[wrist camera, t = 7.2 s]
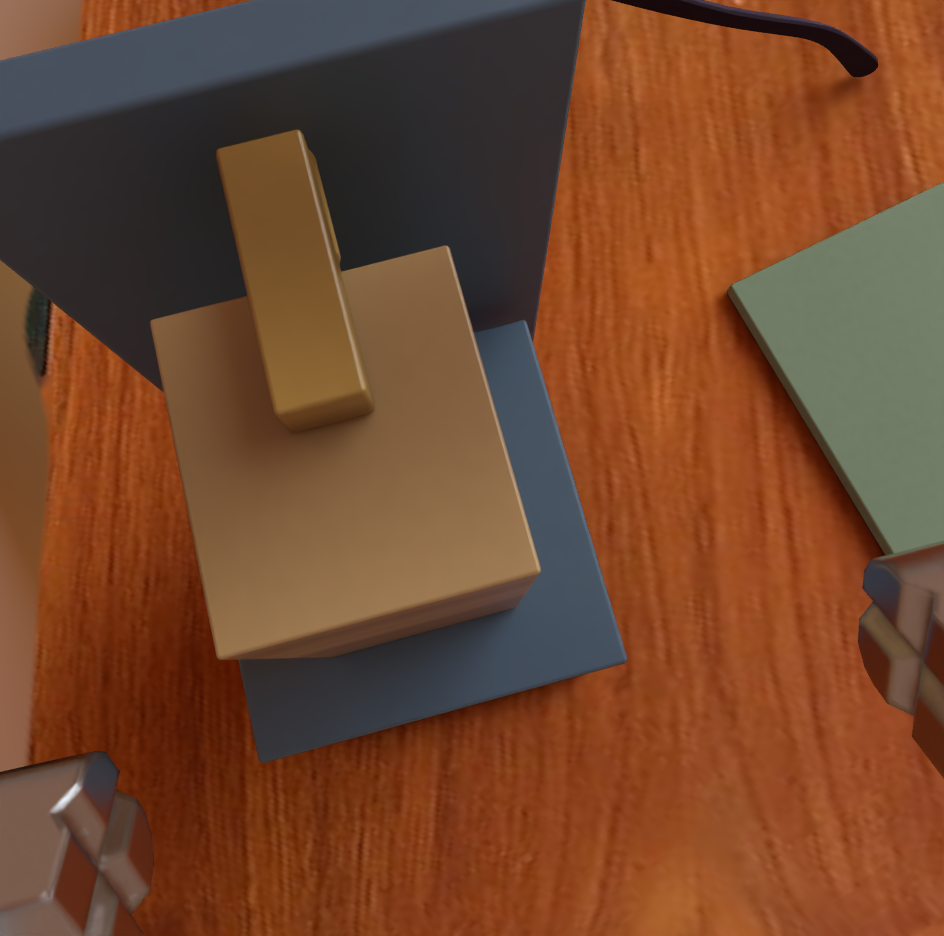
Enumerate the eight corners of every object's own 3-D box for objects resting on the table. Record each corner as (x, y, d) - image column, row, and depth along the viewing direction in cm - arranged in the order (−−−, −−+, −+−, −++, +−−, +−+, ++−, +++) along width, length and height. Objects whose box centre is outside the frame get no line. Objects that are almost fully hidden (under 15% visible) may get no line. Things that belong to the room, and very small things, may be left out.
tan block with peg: (518, 606, 16) (548, 565, 9) (331, 657, 16) (190, 661, 8) (445, 343, 17) (413, 98, 10) (269, 388, 17) (96, 176, 9)
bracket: (587, 670, 28) (836, 709, 8) (343, 737, 27) (-17, 951, 8) (511, 408, 29) (564, -80, 10) (283, 468, 29) (-131, 87, 10)
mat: (1162, 506, 28) (1177, 502, 28) (929, 630, 28) (939, 629, 27) (944, 185, 31) (953, 176, 30) (725, 292, 30) (730, 284, 30)
